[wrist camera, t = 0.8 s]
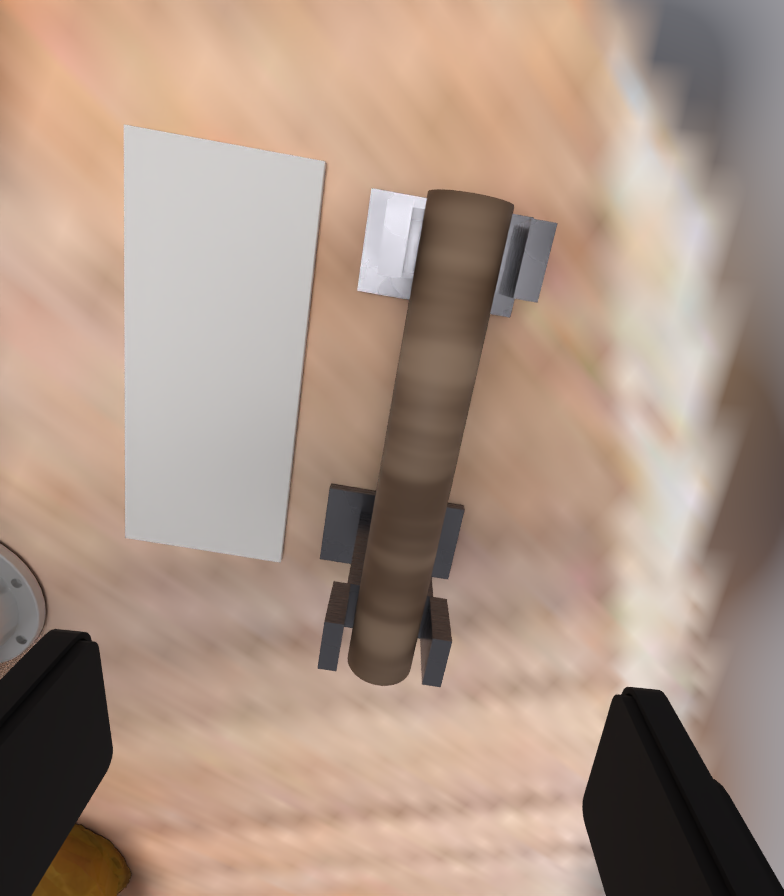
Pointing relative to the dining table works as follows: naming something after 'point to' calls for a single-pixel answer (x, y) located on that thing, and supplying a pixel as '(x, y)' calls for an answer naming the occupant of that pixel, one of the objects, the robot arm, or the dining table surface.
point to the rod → (426, 423)
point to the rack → (351, 508)
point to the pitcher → (85, 868)
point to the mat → (214, 337)
